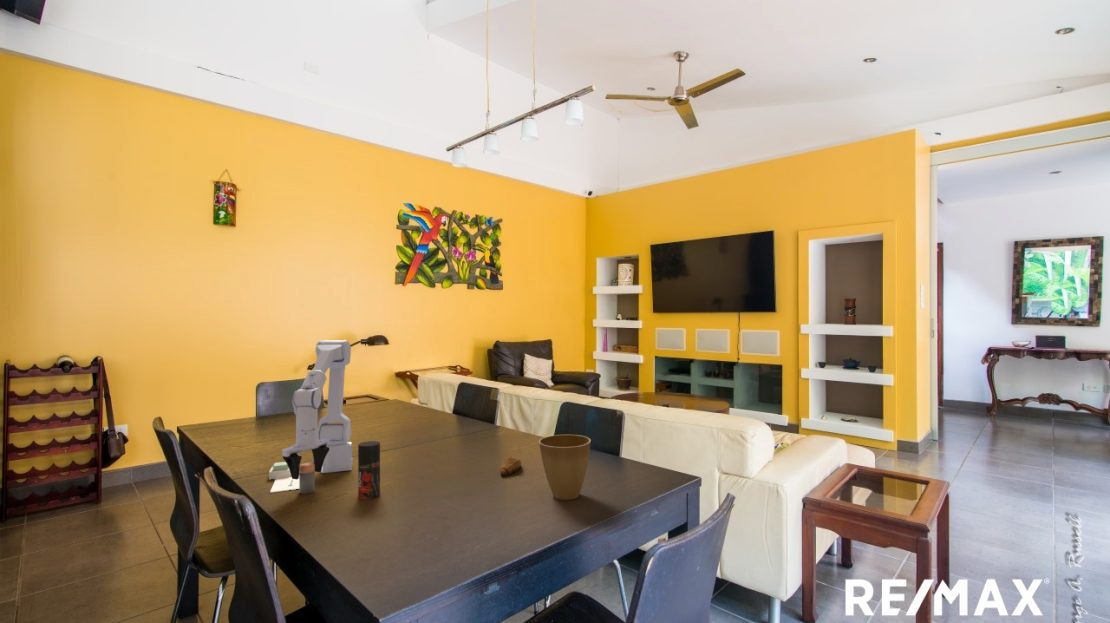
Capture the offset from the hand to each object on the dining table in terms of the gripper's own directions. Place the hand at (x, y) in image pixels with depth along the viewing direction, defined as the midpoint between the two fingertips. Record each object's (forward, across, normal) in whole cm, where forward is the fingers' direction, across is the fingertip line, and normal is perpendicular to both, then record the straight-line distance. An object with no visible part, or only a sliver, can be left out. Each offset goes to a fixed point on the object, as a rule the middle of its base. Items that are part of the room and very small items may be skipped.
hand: (306, 475), depth 149 cm
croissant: (+5, -43, +45) cm, 62 cm away
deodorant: (+5, -6, +20) cm, 21 cm away
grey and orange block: (+5, 0, 0) cm, 5 cm away
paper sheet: (+5, -3, -11) cm, 12 cm away
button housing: (+5, -7, -21) cm, 23 cm away
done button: (+3, -7, -21) cm, 22 cm away
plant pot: (+5, -29, +71) cm, 77 cm away
